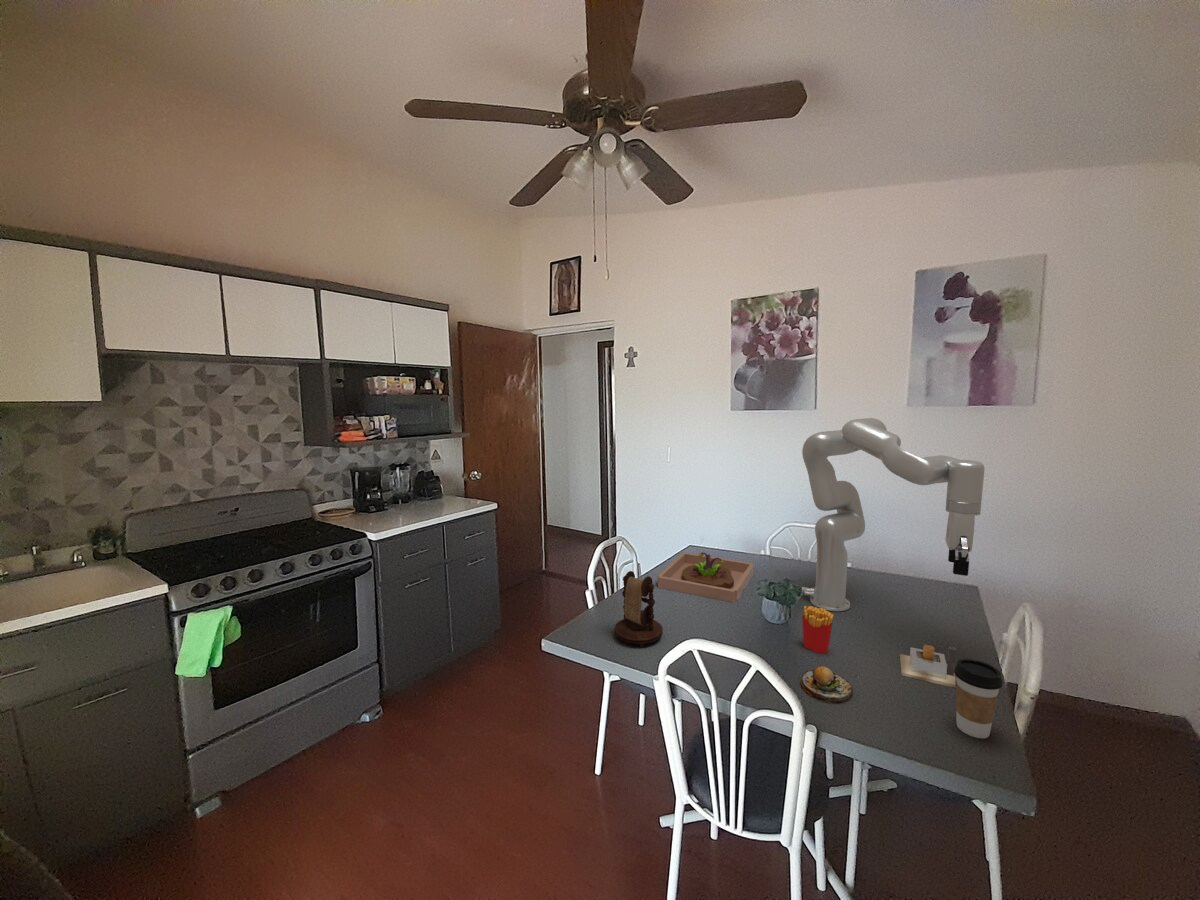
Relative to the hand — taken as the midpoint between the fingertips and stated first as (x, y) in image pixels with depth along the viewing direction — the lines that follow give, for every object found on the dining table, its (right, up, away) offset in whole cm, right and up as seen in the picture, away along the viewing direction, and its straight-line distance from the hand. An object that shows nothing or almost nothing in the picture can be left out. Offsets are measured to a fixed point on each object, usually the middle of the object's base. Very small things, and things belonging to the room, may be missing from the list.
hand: (957, 568), depth 134 cm
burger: (-39, -29, -8) cm, 50 cm away
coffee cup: (-14, -30, -24) cm, 41 cm away
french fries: (-34, -26, +10) cm, 44 cm away
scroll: (-85, -26, +19) cm, 91 cm away
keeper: (-10, -27, -2) cm, 29 cm away
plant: (-55, -19, +60) cm, 84 cm away
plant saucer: (-55, -19, +60) cm, 84 cm away
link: (-10, -26, -2) cm, 28 cm away
